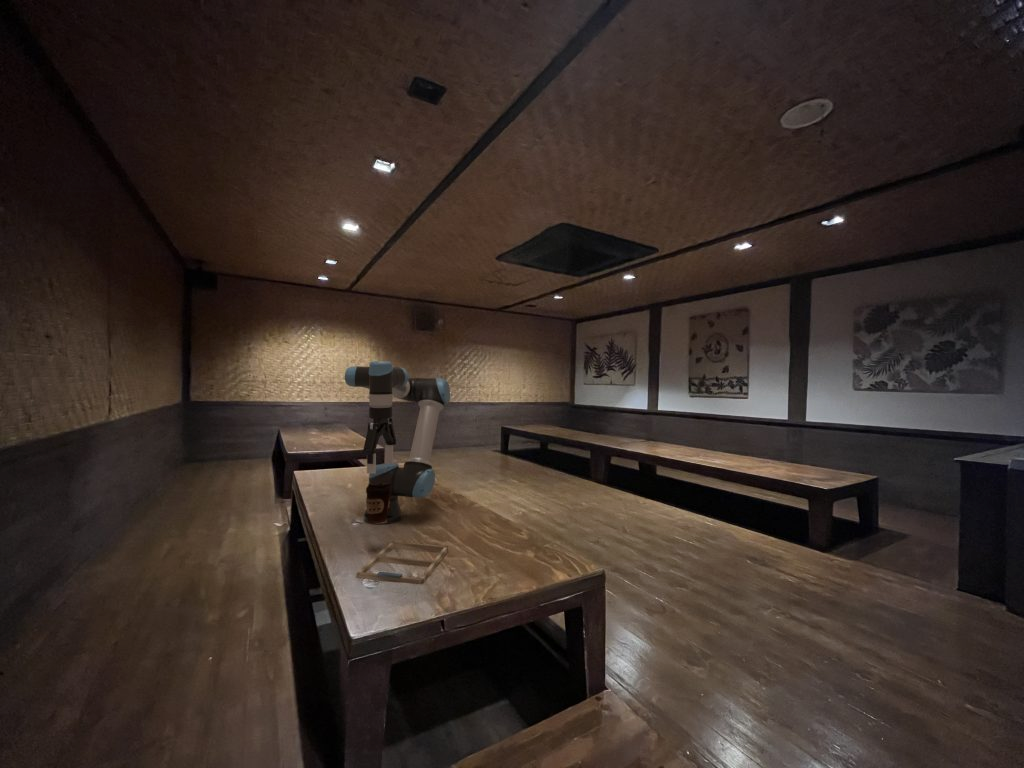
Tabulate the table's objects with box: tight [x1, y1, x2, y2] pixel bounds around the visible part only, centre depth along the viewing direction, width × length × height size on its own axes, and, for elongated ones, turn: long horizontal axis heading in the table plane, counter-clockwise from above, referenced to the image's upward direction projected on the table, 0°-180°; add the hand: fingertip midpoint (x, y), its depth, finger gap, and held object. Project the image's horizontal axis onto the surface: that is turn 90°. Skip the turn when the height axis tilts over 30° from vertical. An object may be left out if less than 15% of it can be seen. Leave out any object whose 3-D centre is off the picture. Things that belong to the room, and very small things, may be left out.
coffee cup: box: [365, 482, 392, 525], centre depth 134 cm, size 9×8×13 cm
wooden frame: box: [355, 540, 449, 585], centre depth 123 cm, size 23×20×3 cm
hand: (380, 468), depth 136 cm, fingers open, 13 cm apart
